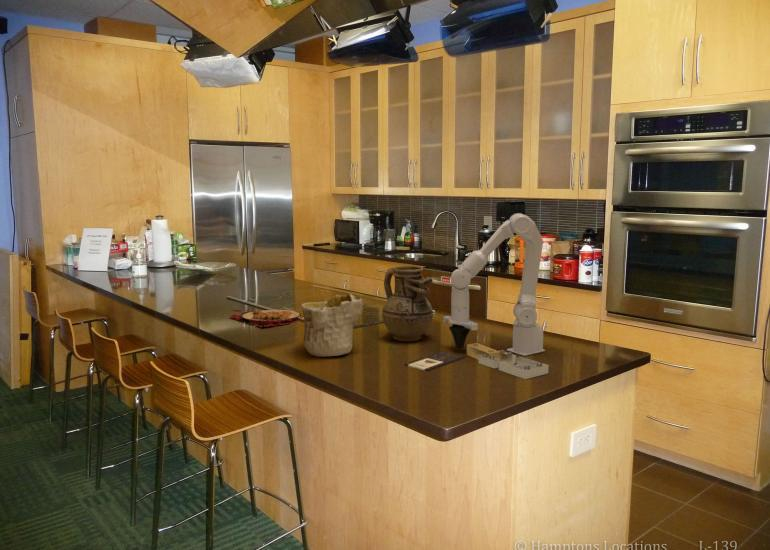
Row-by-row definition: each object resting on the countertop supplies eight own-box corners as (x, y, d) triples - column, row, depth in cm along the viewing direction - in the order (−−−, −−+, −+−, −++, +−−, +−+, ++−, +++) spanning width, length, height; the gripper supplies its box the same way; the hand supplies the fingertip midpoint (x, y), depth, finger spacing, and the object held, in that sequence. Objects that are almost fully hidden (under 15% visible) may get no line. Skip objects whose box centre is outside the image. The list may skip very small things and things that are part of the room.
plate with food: (263, 331, 234) (262, 322, 234) (228, 318, 254) (228, 310, 253) (316, 322, 251) (316, 313, 250) (280, 310, 270) (280, 302, 270)
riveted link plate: (477, 354, 200) (477, 342, 199) (500, 363, 189) (500, 351, 188) (466, 355, 198) (466, 343, 197) (489, 365, 187) (489, 353, 187)
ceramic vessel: (266, 331, 199) (302, 271, 206) (312, 362, 212) (344, 305, 219) (302, 342, 184) (339, 277, 191) (350, 375, 197) (383, 313, 204)
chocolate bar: (464, 356, 194) (428, 369, 181) (464, 359, 194) (428, 372, 181) (441, 351, 200) (404, 363, 187) (441, 354, 200) (404, 366, 187)
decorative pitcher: (367, 337, 221) (366, 267, 217) (403, 329, 233) (403, 262, 229) (411, 348, 205) (411, 273, 201) (447, 339, 217) (447, 268, 213)
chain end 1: (500, 358, 193) (500, 348, 193) (515, 363, 188) (516, 353, 188) (478, 363, 188) (478, 353, 188) (493, 368, 183) (494, 358, 182)
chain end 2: (520, 364, 186) (521, 355, 186) (548, 373, 178) (548, 363, 177) (498, 370, 181) (498, 360, 181) (525, 379, 173) (526, 368, 172)
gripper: (436, 304, 204) (436, 345, 206) (465, 311, 192) (465, 354, 194) (452, 302, 208) (452, 341, 210) (482, 309, 196) (482, 351, 198)
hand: (459, 347), depth 202 cm, fingers closed
